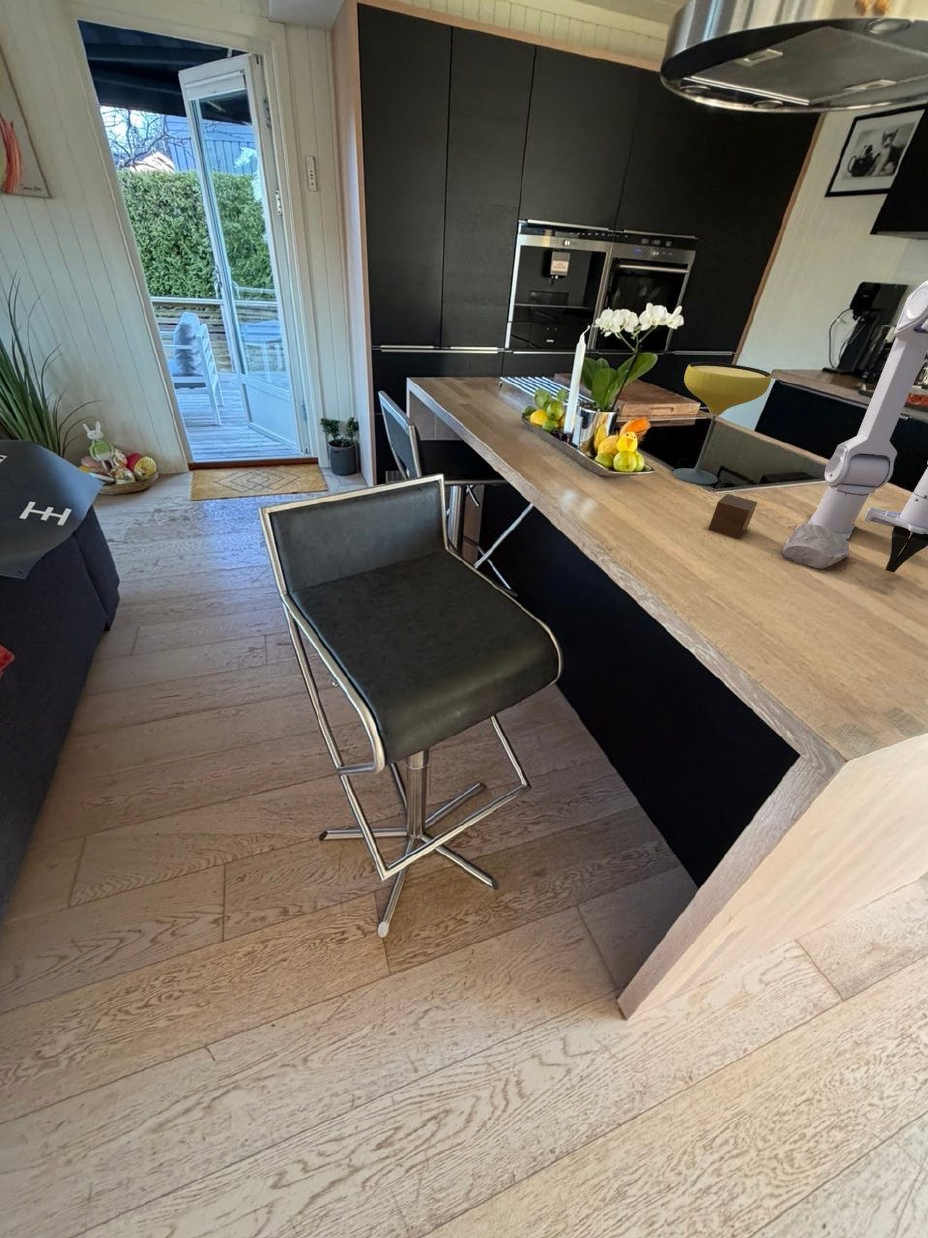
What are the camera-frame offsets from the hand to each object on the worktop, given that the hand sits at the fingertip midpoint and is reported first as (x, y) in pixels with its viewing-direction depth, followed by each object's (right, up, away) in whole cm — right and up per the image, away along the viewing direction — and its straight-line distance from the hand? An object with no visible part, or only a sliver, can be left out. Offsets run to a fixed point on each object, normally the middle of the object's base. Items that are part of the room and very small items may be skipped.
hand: (890, 569), depth 92 cm
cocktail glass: (-17, +27, +40) cm, 51 cm away
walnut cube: (-22, +10, +15) cm, 28 cm away
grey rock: (-9, +3, +7) cm, 12 cm away
